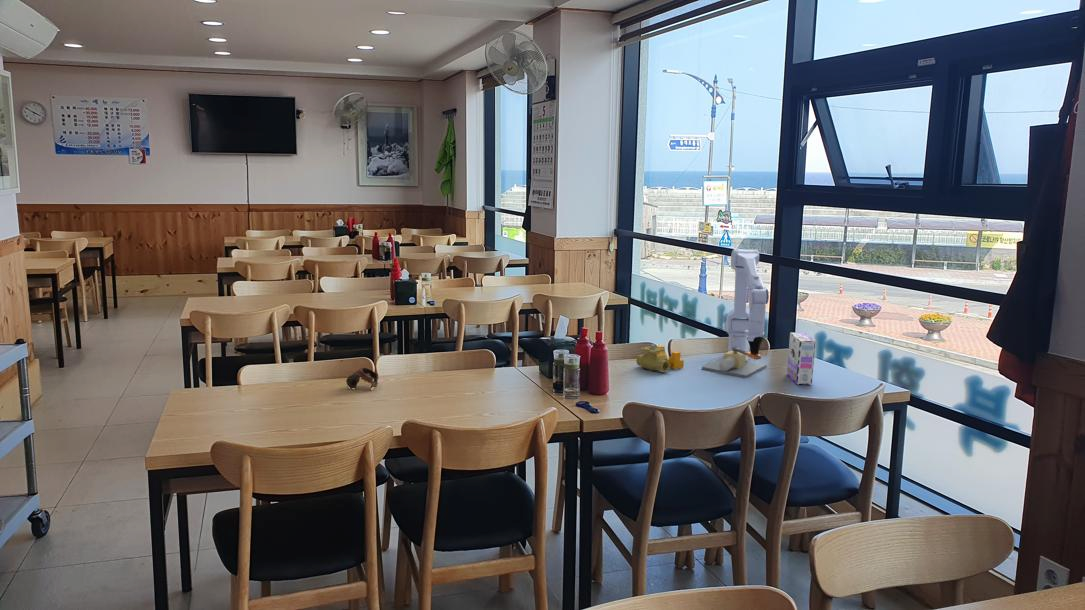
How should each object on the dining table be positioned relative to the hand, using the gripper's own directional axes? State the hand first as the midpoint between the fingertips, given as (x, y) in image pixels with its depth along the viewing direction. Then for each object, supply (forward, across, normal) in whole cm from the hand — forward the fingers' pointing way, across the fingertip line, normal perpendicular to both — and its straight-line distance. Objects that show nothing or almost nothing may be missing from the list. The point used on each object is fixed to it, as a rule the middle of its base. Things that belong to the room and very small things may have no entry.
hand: (754, 355), depth 307 cm
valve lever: (0, 0, -3) cm, 3 cm away
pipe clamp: (+7, +5, -31) cm, 33 cm away
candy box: (+7, -1, +17) cm, 18 cm away
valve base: (+7, -3, -8) cm, 11 cm away
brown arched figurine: (+7, +93, -110) cm, 144 cm away
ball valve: (+7, +14, -34) cm, 37 cm away
